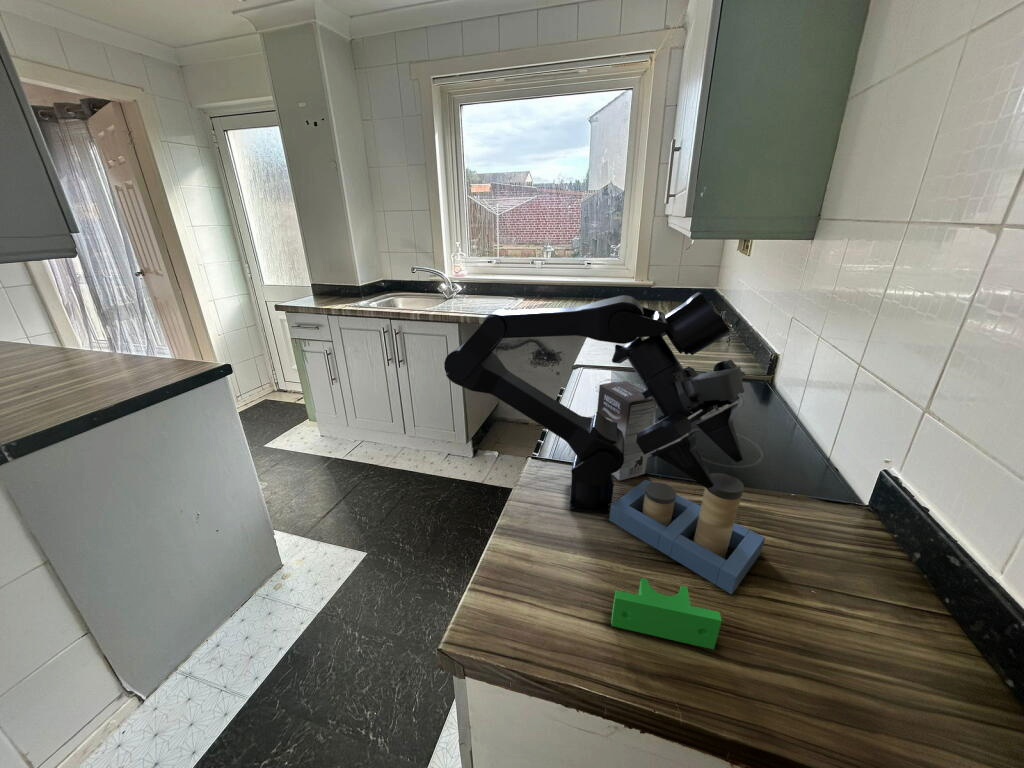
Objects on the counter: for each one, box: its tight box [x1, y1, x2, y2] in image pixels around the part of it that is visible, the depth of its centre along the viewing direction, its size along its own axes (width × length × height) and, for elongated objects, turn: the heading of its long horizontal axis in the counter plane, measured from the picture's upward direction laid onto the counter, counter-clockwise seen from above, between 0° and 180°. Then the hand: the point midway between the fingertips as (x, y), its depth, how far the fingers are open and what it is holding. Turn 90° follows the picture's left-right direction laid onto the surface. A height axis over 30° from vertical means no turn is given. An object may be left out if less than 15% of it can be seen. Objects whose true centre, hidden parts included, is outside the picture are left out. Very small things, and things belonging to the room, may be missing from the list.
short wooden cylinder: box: [641, 481, 677, 527], centre depth 63 cm, size 4×4×6 cm
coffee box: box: [596, 380, 657, 482], centre depth 76 cm, size 9×6×16 cm
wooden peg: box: [692, 472, 745, 560], centre depth 56 cm, size 4×4×12 cm
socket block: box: [608, 479, 766, 595], centre depth 61 cm, size 19×10×3 cm, turn 42°
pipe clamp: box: [610, 577, 723, 650], centre depth 47 cm, size 11×4×5 cm, turn 76°
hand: (726, 473), depth 53 cm, fingers open, 9 cm apart
